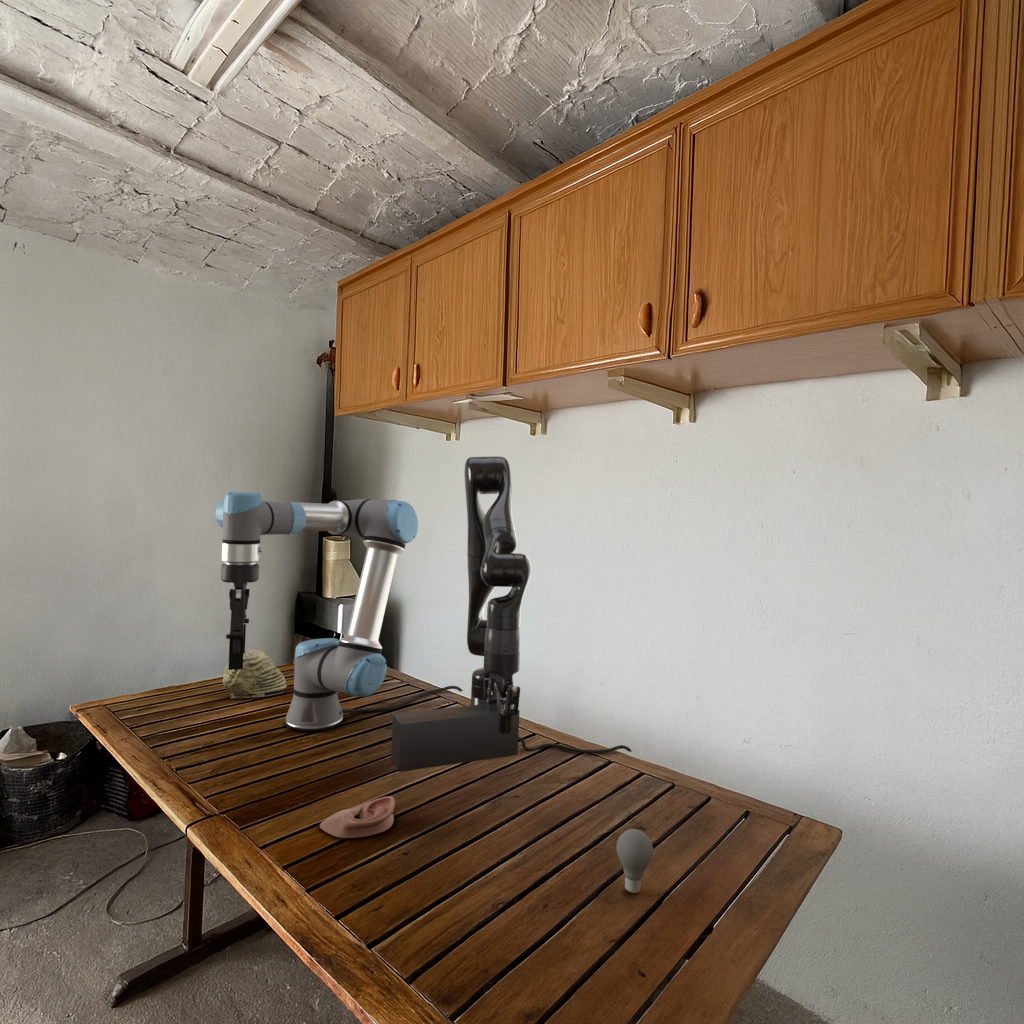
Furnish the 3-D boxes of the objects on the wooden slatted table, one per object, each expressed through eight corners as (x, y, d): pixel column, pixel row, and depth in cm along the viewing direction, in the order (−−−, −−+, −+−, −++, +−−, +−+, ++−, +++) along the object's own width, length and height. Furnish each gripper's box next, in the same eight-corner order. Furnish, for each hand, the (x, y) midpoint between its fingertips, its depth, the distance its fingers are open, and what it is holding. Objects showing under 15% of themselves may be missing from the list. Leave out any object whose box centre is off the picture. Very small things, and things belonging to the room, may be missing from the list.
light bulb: (610, 879, 108) (613, 822, 108) (644, 879, 109) (647, 822, 109) (619, 902, 102) (622, 840, 102) (655, 901, 103) (658, 840, 103)
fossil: (218, 695, 195) (220, 647, 195) (278, 685, 208) (279, 640, 207) (228, 703, 189) (230, 653, 188) (289, 692, 201) (290, 645, 201)
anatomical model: (312, 812, 119) (340, 786, 130) (311, 833, 119) (340, 805, 130) (378, 823, 116) (401, 795, 127) (377, 844, 116) (401, 814, 127)
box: (398, 772, 121) (401, 723, 121) (390, 759, 126) (392, 713, 126) (517, 755, 132) (519, 710, 131) (505, 744, 137) (507, 701, 137)
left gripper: (258, 569, 126) (254, 675, 127) (259, 557, 150) (256, 646, 150) (217, 569, 124) (213, 677, 124) (225, 557, 147) (221, 648, 147)
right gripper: (533, 655, 128) (530, 738, 128) (504, 639, 141) (501, 715, 141) (500, 657, 124) (496, 742, 125) (472, 641, 137) (469, 718, 138)
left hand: (237, 661), depth 137 cm, fingers open, 13 cm apart
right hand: (498, 727), depth 133 cm, fingers closed on box, 6 cm apart
